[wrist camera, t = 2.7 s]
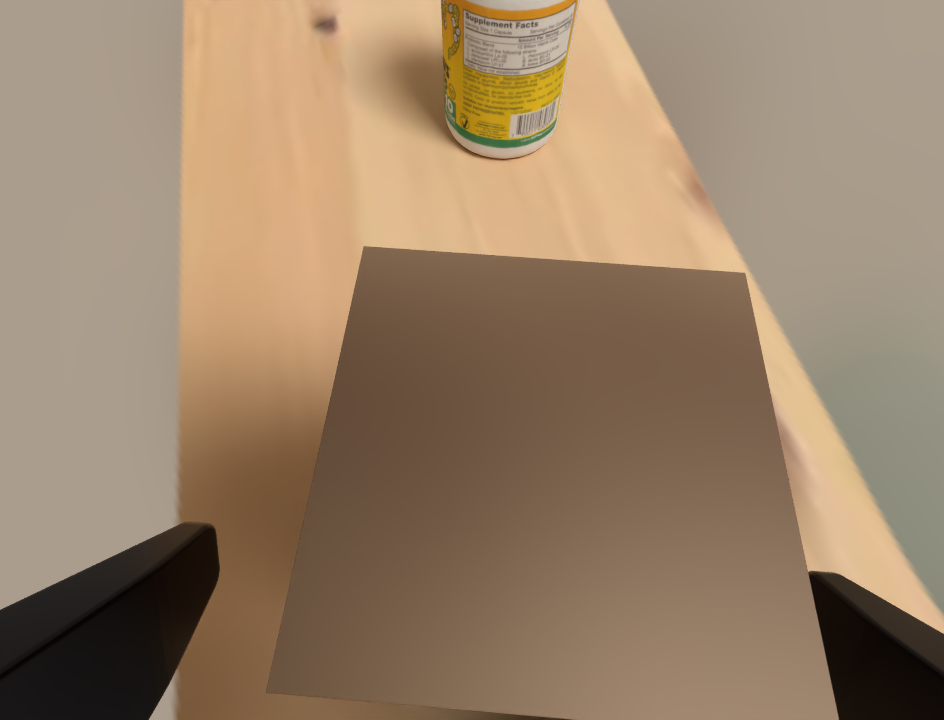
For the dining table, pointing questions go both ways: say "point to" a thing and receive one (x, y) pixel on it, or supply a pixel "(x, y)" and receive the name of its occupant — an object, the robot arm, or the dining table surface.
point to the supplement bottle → (505, 71)
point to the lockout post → (552, 501)
